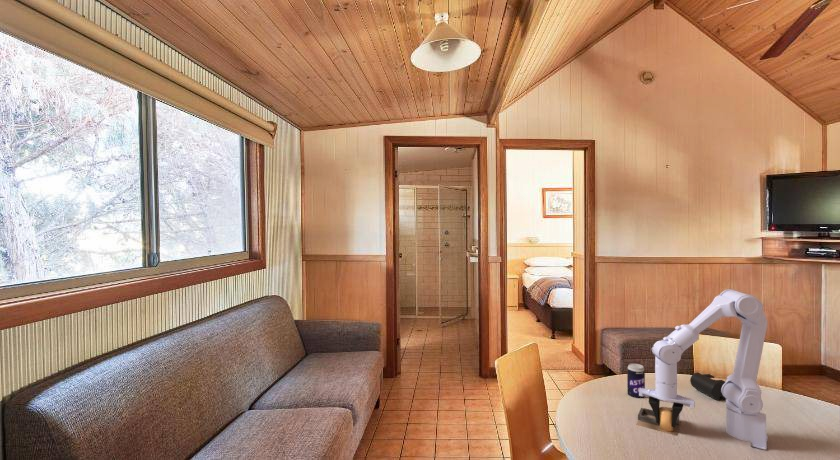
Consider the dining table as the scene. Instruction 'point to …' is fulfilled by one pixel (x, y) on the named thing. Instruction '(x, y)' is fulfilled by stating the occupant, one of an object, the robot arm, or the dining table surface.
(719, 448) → the dining table surface
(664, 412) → the orange capsule
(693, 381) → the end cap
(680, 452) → the dining table surface
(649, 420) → the housing
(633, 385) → the beverage can
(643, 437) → the dining table surface
